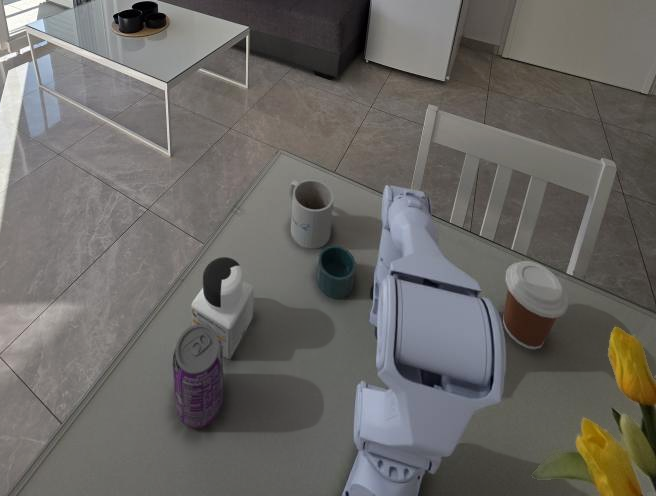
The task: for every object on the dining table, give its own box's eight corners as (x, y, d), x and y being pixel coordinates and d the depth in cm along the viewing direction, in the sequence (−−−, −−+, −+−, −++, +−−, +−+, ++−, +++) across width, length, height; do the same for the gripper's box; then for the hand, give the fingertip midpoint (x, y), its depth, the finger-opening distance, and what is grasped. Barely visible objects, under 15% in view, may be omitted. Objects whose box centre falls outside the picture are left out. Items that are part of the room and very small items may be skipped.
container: (191, 336, 73) (189, 280, 69) (217, 296, 79) (216, 243, 75) (229, 361, 69) (229, 304, 65) (253, 317, 76) (254, 263, 72)
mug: (337, 242, 91) (340, 205, 88) (299, 253, 88) (302, 215, 85) (313, 198, 102) (316, 164, 99) (279, 207, 99) (281, 172, 96)
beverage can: (201, 362, 69) (199, 310, 65) (232, 397, 65) (232, 344, 61) (165, 404, 64) (161, 350, 60) (197, 445, 60) (195, 390, 56)
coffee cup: (546, 371, 69) (564, 320, 66) (487, 329, 75) (501, 280, 71) (558, 328, 76) (575, 278, 72) (502, 292, 82) (516, 245, 78)
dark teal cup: (343, 307, 78) (345, 287, 77) (310, 284, 82) (311, 265, 80) (359, 277, 84) (361, 258, 82) (327, 257, 87) (329, 239, 86)
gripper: (408, 312, 57) (396, 379, 62) (438, 236, 69) (425, 297, 73) (359, 282, 61) (351, 346, 65) (395, 214, 72) (386, 273, 77)
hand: (387, 318), depth 69 cm, fingers closed
